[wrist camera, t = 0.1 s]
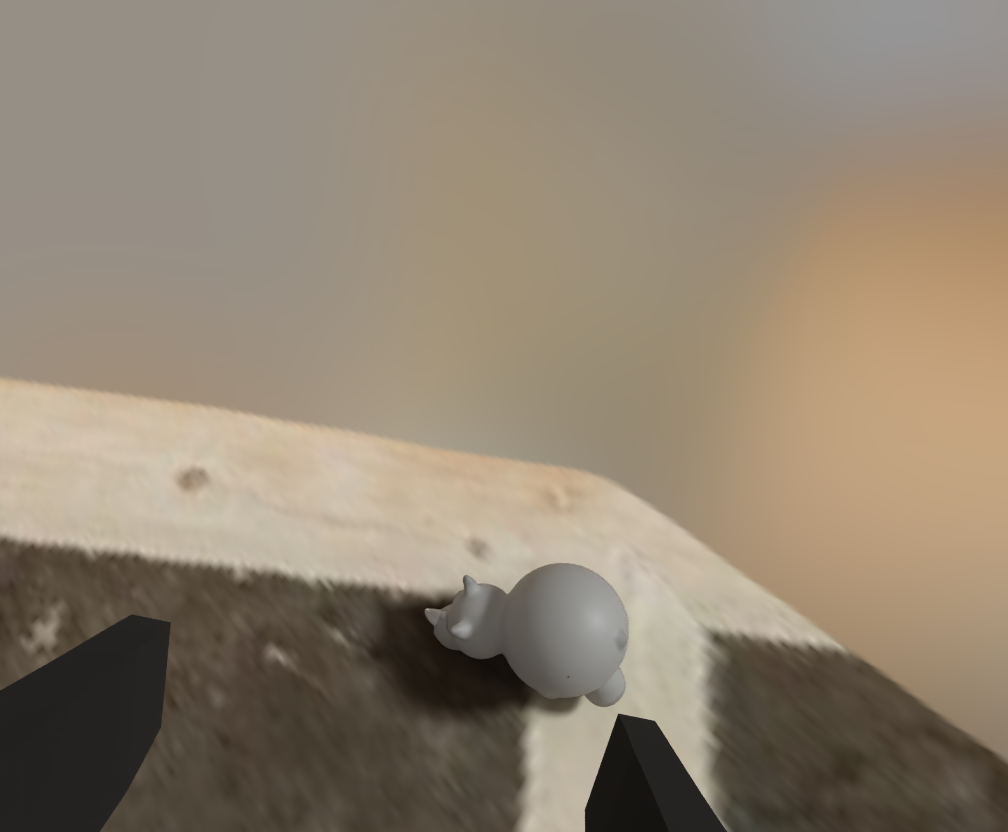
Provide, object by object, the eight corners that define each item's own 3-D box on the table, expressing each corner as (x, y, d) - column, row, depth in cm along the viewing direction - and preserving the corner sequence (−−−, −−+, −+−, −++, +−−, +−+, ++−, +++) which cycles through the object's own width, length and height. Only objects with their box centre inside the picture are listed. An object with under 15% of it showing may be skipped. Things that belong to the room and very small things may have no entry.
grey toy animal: (462, 582, 48) (424, 528, 41) (640, 605, 44) (632, 550, 37) (434, 691, 44) (388, 652, 37) (628, 726, 40) (615, 689, 34)
